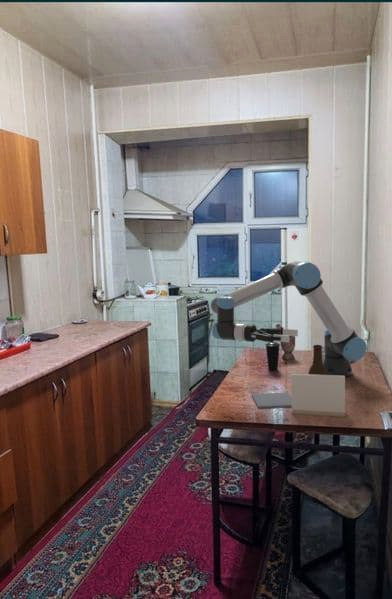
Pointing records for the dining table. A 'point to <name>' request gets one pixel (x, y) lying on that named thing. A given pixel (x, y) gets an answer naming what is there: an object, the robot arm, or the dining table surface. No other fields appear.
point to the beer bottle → (317, 362)
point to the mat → (272, 400)
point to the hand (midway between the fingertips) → (293, 335)
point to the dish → (322, 353)
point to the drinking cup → (272, 355)
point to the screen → (318, 394)
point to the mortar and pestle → (287, 347)
